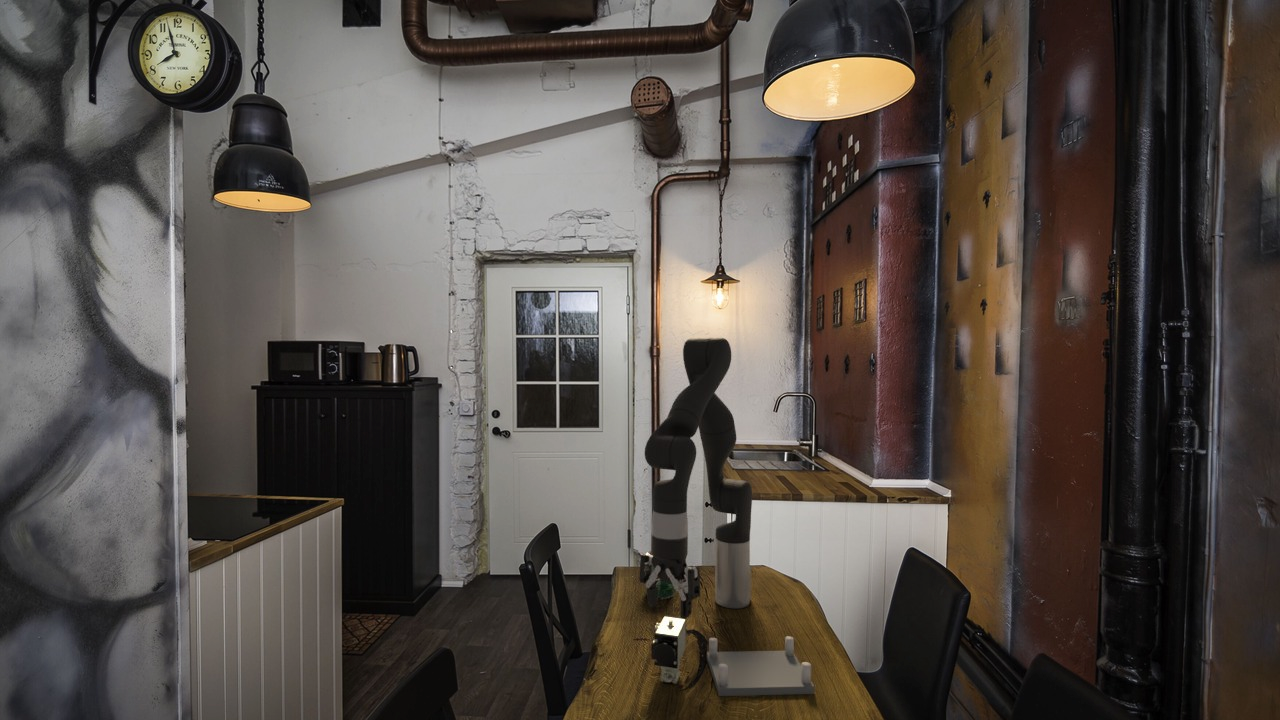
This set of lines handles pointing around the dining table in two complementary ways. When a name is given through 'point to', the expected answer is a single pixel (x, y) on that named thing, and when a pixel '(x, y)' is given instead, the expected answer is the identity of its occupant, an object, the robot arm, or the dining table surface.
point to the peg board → (759, 671)
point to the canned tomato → (663, 588)
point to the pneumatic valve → (669, 647)
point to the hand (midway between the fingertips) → (668, 611)
